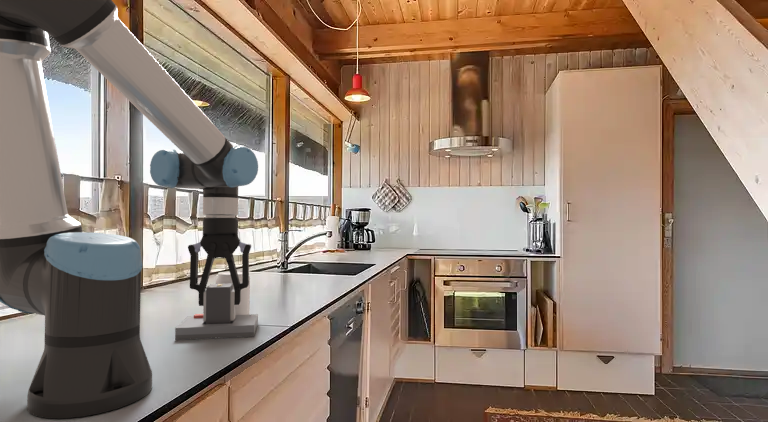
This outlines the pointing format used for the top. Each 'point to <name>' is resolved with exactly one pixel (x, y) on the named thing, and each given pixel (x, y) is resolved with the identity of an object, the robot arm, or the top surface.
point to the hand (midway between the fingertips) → (219, 319)
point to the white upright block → (245, 292)
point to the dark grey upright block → (218, 303)
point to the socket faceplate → (216, 328)
